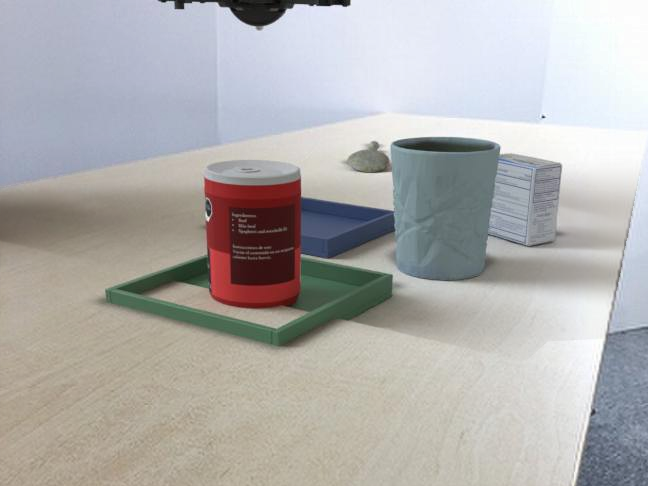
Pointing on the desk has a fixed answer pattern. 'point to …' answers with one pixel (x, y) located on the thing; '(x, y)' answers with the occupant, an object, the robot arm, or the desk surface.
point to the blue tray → (340, 226)
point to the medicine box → (525, 199)
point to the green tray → (315, 297)
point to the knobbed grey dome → (369, 159)
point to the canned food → (253, 232)
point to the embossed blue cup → (443, 204)
